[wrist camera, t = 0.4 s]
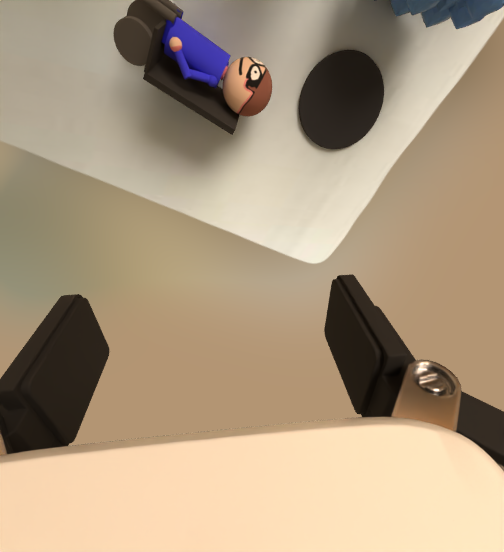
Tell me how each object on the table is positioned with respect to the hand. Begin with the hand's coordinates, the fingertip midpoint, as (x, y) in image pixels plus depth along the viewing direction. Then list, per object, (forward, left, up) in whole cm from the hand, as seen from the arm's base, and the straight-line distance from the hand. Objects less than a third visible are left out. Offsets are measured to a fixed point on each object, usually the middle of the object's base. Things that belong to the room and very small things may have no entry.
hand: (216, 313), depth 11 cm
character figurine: (-9, -1, -31) cm, 32 cm away
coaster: (-5, +15, -30) cm, 34 cm away
